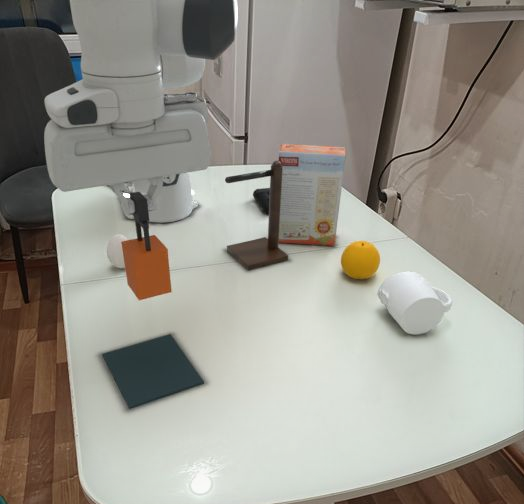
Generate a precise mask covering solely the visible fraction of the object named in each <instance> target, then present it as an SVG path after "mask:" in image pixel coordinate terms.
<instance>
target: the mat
mask: <svg viewBox="0 0 524 504" xmlns="http://www.w3.org/2000/svg"><path fill="white" fill-rule="evenodd" d="M101 355H102V358H103V360H104V362H105V363H106V365H107V367H108V370H109V371H110V374H111V376H112V377H113V380H114V381H115V383H116V386H117V387H118V389H119V391H120V393H121V395H122V397H123V399H124V401H125V403H126V405H127V406H128V408H129V409H133V408H135V407H139V406H141V405H145V404H148V403H151V402H153V401H157V400H159V399H162V398H165V397H168V396H171V395H174V394H177V393H180V392H183V391H186V390H188V389H191V388H195V387H197V386H200V385H203V384H205V381H204V379H203V378H202V376H201V375H200V373H199V372H198V371H197V370H196V368H195V366H194V365H193V364H192V362H191V361H190V359H189V358H188V357H187V355H186V354H185V352H184V351H183V349H182V348H181V347H180V345H179V344H178V342H177V341H176V340H175V338H174V337H173V335H172V334H171V333H169V334H166V335H162V336H159V337H156V338H152V339H148V340H144V341H141V342H138V343H134V344H131V345H129V346H128V345H127V346H124V347H121V348H117V349H114V350H111V351H107V352H103V353H101Z"/></svg>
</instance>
